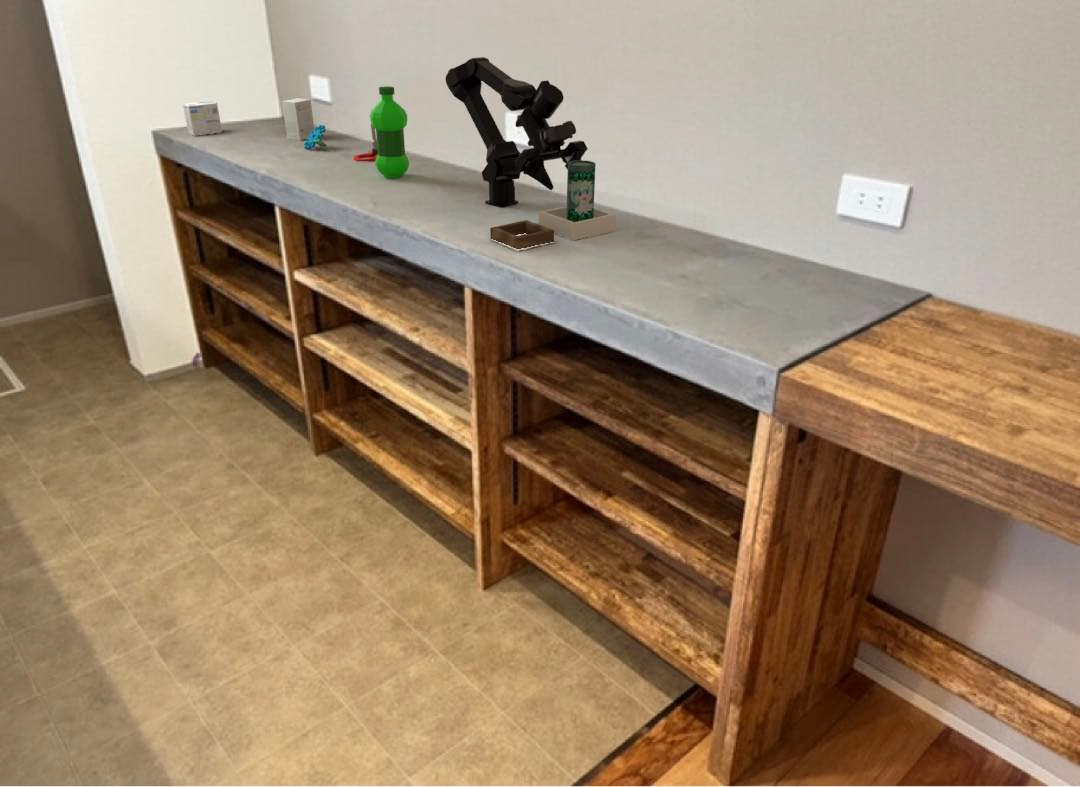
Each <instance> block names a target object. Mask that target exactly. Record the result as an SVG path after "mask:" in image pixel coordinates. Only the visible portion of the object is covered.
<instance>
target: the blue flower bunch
mask: <svg viewBox="0 0 1080 787" xmlns="http://www.w3.org/2000/svg"><path fill="white" fill-rule="evenodd" d="M325 132H326V126H325V125H324V124H319V125H318V126H314V132H313V131H311V132H310V134H311V135H310V137H309V136H307V138H306V139H305V141H304V143H303V145H304V149H305V150H308V151H309V150H311V149H313V148H315V147H316V145H318V146H319V147H320V148H321V147H322V148H323V149H324V150H326V151H328V147H327V146H328V145H327V144H326V143H325V142H324V141H322V139H323V138H324V136H325V134H324V133H325Z"/></svg>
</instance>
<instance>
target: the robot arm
mask: <svg viewBox="0 0 1080 787" xmlns="http://www.w3.org/2000/svg"><path fill="white" fill-rule="evenodd" d="M483 83H484V84H485V85H487V86H488V87H490V88H491V89H492V90H493V91H495V92H496V93H497V94H499V96H500V100H501V102H502V103H503V104H504V106H505V107H506V108H507V109H508V110H509V111H511V112H516V111H522V112H521V113H520V114H517V116H516V121H515V124H514V125H515V127H516V128H523V131H524V132H525V134H526V136H527V138H528V141H527V145H528V147H531V148H525V149H523V150H522V151H521V152H520V151H519V149H518V147H517V144H516V143H515V141H514V140H511V141H507V140H505V138H504V137H503V135H502V133H501V132H500V129H499V127H498V125H497V124H496V121H495V119H494V118H493V115H492V114H491V111H490V110H489V108H488V106H487V104H486V102H485V100H484V98H483V95H482V94H481V92H482V85H483ZM445 84H446V86H447V89H449V91H450V93H451V94H452V95H453V97H454V98H456V99H457V100H458V101H460V102H461V103H463V104H464V106H465V109H466V110H467V112H468V114H469V116H470V118H471V120H472V122H473V123H474V124H473V125H474V126H475V128H476V130H477V131H478V134H479V136H480V138H481V140H482V142H483V144H484V146H485V147H486V158H485V161H486V163H487V164H486V166H485V167H484V169H483V170H481V171H482V172H481V177H482V179H483V181H484V182H487V183H488V195H489V196H488V197H489V198H488V200H487V199H486V200H485V201H484V203H485V204H488V205H491V206H492V205H493V206H496V207H501V208H504V207H507V206H511V205H515V204H519V200H517V199H516V189H515V188H516V187H515V180H518V179H520V176H521V173H523V175H527V176H529V177H531V178H532V179H533V180H536V181H537V182H539V184H541V185H542V186H544V187H545V188H546V189H548V190H550V191H552V190H553V189H554V184H553V182H552V179H551V178H550V176H549V173H548V171H547V169H546V168H545V161H546V162H547V161H552V160H557V159H558V160H559V159H561V160H562V163H564V164H565V165H564V167H565V168H566V171H568V163H569V162H570V161H574V160H582V157H583V156H584V155H585V153H586V151H588V150H589V149H588V147H587V145H586V142H585V141H584V140H576V141H575V140H573V141H570V142H569V143H568V144H567V145H566V147H565V148H561V147H564V145H565V144H566V142H565V141H566V140H568V139H573V135H575V134H576V133H577V129H576V125H575V124H574V122H573V121H572V120H567V121H565V122H563V123H562V124H556V125H553V126H550V125H549V122H548V121H547V120H549V119H551V117H552V116H553V115H554V114H555V112H556V111H557V109H558V108H559V107H560V106H561V104H562V103H563V101H564V98H565V97H564V94H563V92H562V90H561V89H559V87H557V86H556V85H554V84H552V83H551V82H550V81H549V80H541V81H540V83H539V85H538V87H537V88H535V86H534V85H533V84H532V83H528V82H526V81H523V80H517V79H514V78H512V76H510V75H509V74H507V73H505V72H504V71H503V70H502V69H500V68H499V67H497V66H496V65H494V64H493V63H492V62H491V61H490V60H489V58H486V57H485V56H483V57H482V56H481V57H471V58H470V59H468V60H466V62H464V63H462V64H460V65H457V66H455V67H453V68H450V69H449V70H448V72H447V73H446V75H445Z"/></svg>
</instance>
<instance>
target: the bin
mask: <svg viewBox="0 0 1080 787" xmlns="http://www.w3.org/2000/svg"><path fill="white" fill-rule="evenodd" d="M566 214H567V205H565V206H561V207H555V208H550V209H545V210H541V211H538V225H541V226H544V227H546V228H549V229H552V230H554V233H556V234H559V235H562V236H564V237H567V238H569V239H572V240H576V239H580V240H583V239H582V238H584V239H587V238H586V237H588V238H592V237H591V236H593V237H596V235H597V236H600V234H601V235H604V233H605V234H609V233H612V232H616V221H617V220H616V219H617V218H616V217H617V214H615V213H613V212H608V211H605V210H603V209H600V208H598V207H594V213H593V218H591V219H587V220H583V221H578V222H572V221H569V220H566ZM556 234H555V235H556ZM559 235H558V236H559ZM564 237H563V238H564ZM567 238H566V239H567ZM569 239H568V240H569ZM572 240H571V241H572ZM576 241H577V240H576Z"/></svg>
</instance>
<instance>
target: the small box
mask: <svg viewBox="0 0 1080 787" xmlns="http://www.w3.org/2000/svg"><path fill="white" fill-rule="evenodd" d="M281 103H282V104H281V105H282V109H283V110H282V111H283V118H284V126H285V131H286V139H287V140H290V139H291V141H292V140H293V141H299V140H300V141H303V140H306V138H307V136H309V137H310V135H311V134H310V132H311V131H313V132H314V129H315V125H314V117H313V115H314V114H313V110H312V109H313V108H312V101H311V99H309V98H299V97H297V98H293V99H288V100H283V101H281Z"/></svg>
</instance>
